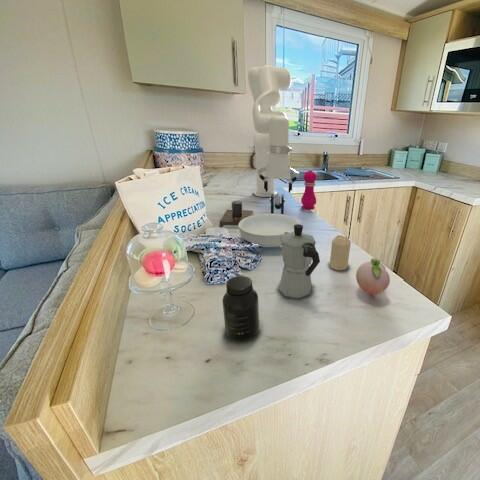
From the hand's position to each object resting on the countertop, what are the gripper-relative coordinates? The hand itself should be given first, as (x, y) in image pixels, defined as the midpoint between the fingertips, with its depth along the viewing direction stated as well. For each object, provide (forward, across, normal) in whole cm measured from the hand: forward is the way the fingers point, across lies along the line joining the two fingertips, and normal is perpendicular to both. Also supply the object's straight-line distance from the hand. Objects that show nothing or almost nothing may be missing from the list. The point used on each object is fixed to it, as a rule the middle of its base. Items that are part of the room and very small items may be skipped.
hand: (278, 191), depth 117 cm
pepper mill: (+11, -14, -9) cm, 20 cm away
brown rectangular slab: (+11, +16, +9) cm, 21 cm away
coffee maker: (+10, -7, +57) cm, 58 cm away
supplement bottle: (+9, +5, +71) cm, 72 cm away
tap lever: (+5, 0, +6) cm, 8 cm away
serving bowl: (+10, +2, +27) cm, 29 cm away
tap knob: (+8, +16, +9) cm, 20 cm away
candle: (+10, -20, +44) cm, 50 cm away
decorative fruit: (+10, -26, +58) cm, 65 cm away
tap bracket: (+11, 0, +10) cm, 15 cm away
